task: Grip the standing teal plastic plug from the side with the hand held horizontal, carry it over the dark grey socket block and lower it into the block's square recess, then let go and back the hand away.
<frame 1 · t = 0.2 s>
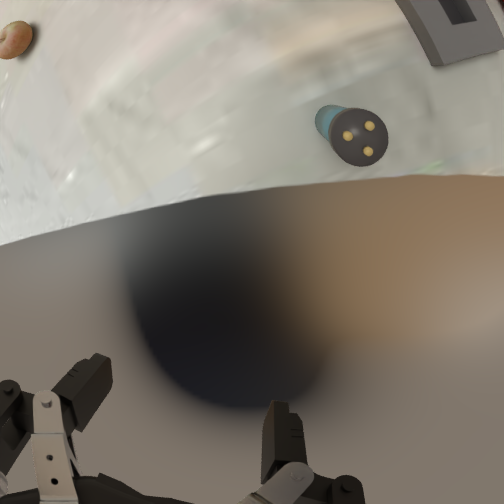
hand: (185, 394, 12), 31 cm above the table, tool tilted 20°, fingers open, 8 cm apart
plug: (332, 121, 32), on the table
fruit: (27, 39, 24), on the table
socket block: (443, 8, 19), on the table
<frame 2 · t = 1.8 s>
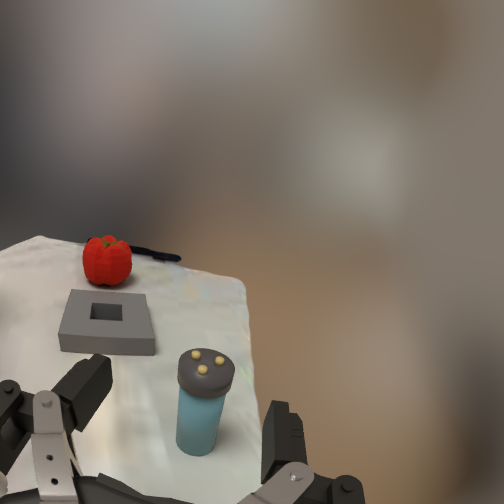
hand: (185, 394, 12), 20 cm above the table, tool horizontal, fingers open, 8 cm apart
plug: (195, 441, 27), on the table
tomato: (106, 280, 63), on the table
socket block: (106, 327, 45), on the table
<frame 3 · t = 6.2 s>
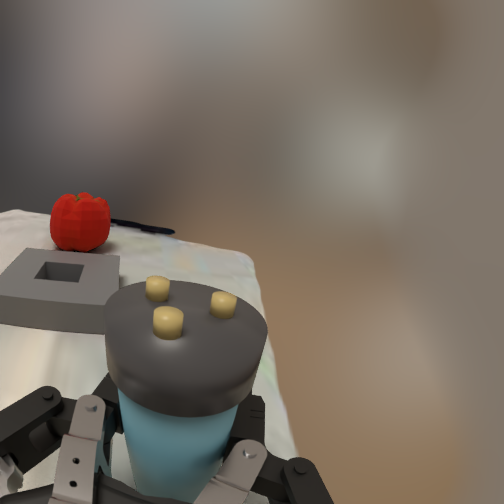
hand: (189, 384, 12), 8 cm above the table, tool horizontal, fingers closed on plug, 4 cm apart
plug: (174, 488, 12), on the table, touching gripper
tomato: (78, 248, 48), on the table
socket block: (61, 296, 29), on the table
when the fingers open (9 cm above the table, at t = 11.8 s): plug drops 2 cm, resting on socket block.
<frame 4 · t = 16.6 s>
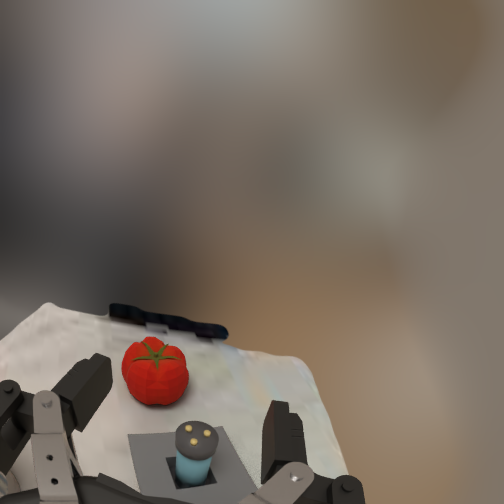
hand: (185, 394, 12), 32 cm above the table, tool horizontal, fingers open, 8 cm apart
plug: (190, 480, 30), resting on socket block
tomato: (154, 390, 49), on the table
socket block: (189, 480, 30), on the table
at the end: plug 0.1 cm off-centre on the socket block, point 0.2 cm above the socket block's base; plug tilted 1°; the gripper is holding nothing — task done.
